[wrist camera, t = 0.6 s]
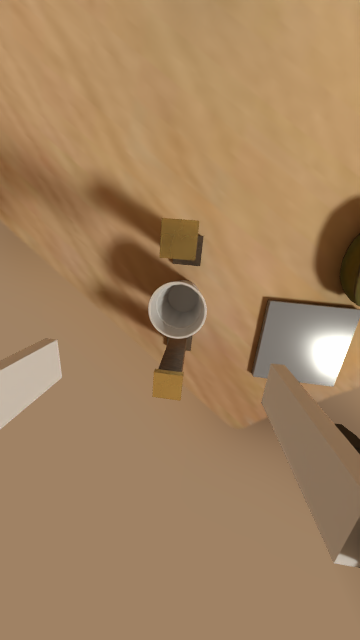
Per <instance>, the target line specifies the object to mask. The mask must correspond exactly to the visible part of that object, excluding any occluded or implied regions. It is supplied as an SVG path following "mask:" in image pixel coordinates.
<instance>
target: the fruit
mask: <svg viewBox="0 0 360 640" xmlns="http://www.w3.org/2000/svg"><path fill="white" fill-rule="evenodd" d="M340 281H341V285H342V287H343V290H344V292H345V293H346V295H347V296H348V298H349V299H350V300H351V301H352V302H354V303H355V304H356V305H358V306H360V234H359V235H358V236H357V237H356V238H355V240H354V241H353V242H352V244H351V245H350V247H349V248H348V250H347V252H346V254H345V256H344V258H343V261H342V265H341V270H340Z"/></svg>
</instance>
